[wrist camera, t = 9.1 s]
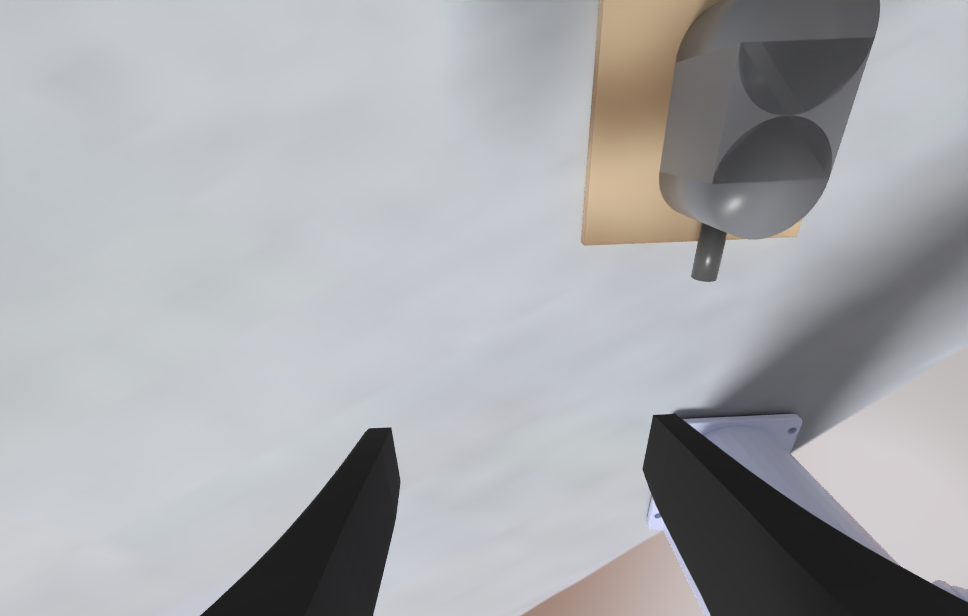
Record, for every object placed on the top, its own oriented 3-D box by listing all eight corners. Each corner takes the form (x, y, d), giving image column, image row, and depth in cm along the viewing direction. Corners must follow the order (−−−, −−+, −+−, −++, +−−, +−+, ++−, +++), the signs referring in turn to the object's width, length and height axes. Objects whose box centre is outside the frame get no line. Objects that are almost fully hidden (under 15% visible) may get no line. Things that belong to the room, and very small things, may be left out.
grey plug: (727, 264, 19) (790, 297, 15) (645, 268, 19) (687, 302, 15) (792, -6, 14) (903, -52, 11) (684, -2, 14) (758, -46, 11)
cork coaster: (786, 233, 19) (796, 237, 18) (580, 242, 19) (584, 245, 18) (867, -31, 14) (883, -37, 14) (601, -24, 14) (606, -29, 14)
